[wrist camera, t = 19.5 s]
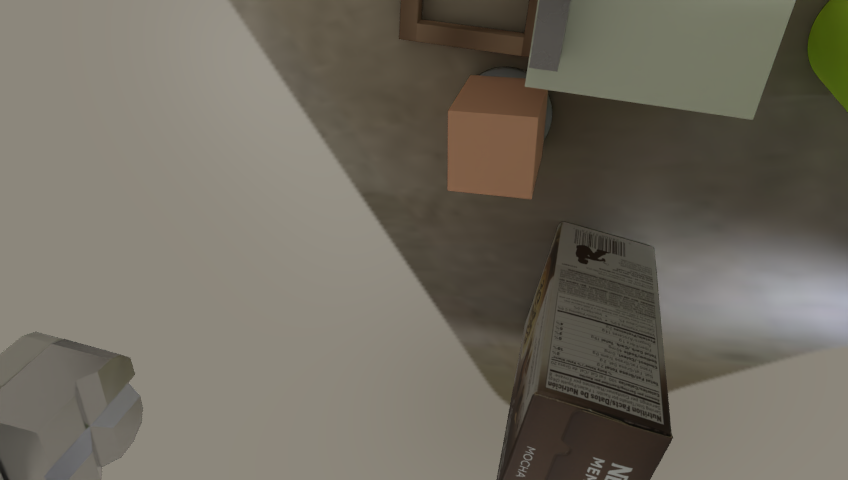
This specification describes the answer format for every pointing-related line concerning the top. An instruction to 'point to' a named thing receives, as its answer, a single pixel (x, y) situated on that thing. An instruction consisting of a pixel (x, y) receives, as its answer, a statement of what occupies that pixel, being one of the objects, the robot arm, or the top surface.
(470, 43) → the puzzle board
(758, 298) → the top surface
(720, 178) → the top surface
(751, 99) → the sliding lid
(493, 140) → the terracotta block
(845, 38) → the soap dispenser
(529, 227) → the top surface
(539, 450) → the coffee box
